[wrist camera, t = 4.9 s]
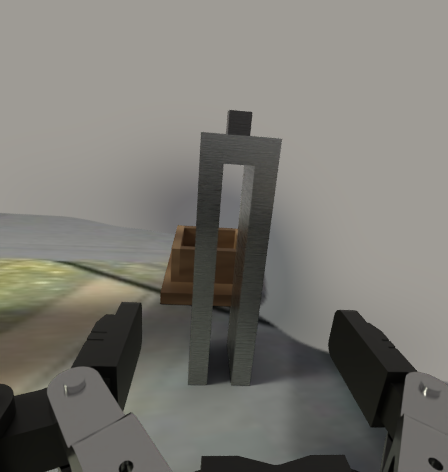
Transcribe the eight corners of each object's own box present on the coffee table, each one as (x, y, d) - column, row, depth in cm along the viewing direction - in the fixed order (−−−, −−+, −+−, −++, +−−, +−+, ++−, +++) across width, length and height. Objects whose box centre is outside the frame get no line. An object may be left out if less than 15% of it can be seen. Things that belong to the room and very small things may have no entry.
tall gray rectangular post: (249, 385, 20) (285, 113, 15) (188, 384, 20) (202, 105, 15) (242, 345, 24) (268, 116, 19) (190, 344, 24) (202, 110, 18)
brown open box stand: (256, 307, 29) (261, 261, 28) (160, 303, 29) (161, 257, 27) (241, 258, 41) (244, 224, 39) (172, 254, 40) (173, 220, 38)
